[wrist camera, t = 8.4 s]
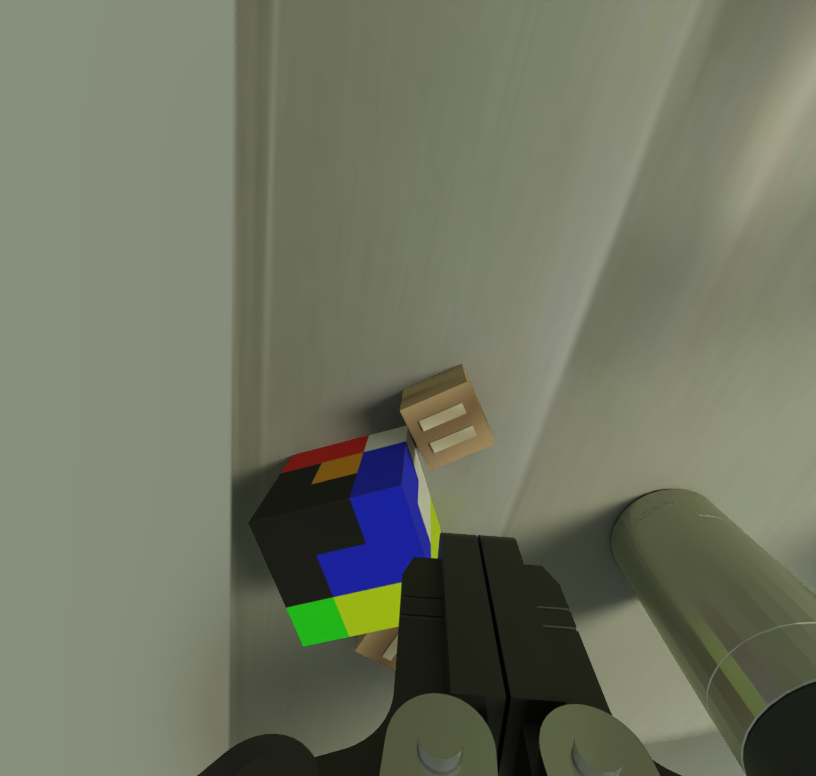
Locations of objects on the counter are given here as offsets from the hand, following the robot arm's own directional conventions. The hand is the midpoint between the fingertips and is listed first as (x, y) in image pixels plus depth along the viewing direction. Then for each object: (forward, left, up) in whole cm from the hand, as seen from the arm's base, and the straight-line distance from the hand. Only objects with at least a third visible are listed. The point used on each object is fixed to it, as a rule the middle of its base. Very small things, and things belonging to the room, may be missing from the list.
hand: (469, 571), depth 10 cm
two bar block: (-5, +3, -27) cm, 27 cm away
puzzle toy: (-7, +13, -27) cm, 31 cm away
